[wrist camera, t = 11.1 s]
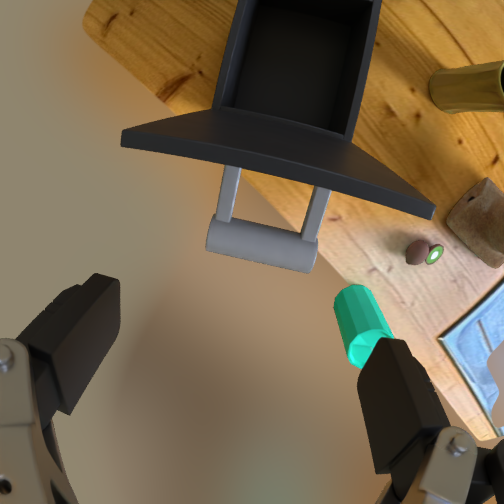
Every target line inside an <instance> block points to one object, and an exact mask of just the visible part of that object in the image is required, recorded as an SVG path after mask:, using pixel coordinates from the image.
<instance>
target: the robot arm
mask: <svg viewBox="0 0 504 504" xmlns="http://www.w3.org/2000/svg"><path fill="white" fill-rule="evenodd" d="M119 329H120V282H119V280H118V279H115V278H112V277H108V276H105V275H101V274H98V273H94V274H93V275H92V276H91V277H90V278H89V279H88V280H87V281H86V282H85V283H84V284H83V285H82V286H81V285H78V284H76V285H74V286H72V287H70V288H68V289H66V290H64V291H62V292H61V293H60V294H59V295H58V296H57V297H56V298H55V299H54V300H53V303H52V302H51V303H50V304H49V305H48V306H47V307H46V308H45V311H44V310H43V311H42V312H41V313H40V314H39V315H38V316H37V317H36V318H35V319H34V320H33V321H32V322H31V323H30V324H29V325H28V326H27V327H26V328H25V329H24V330H23V331H22V333H21V334H20V335H19V336H18V337H17V338H16V339H10V338H1V339H0V504H79V503H78V501H77V498H76V496H75V494H74V492H73V489H72V487H71V485H70V483H69V480H68V478H67V475H66V471H65V468H64V465H63V461H62V458H61V454H60V450H59V446H58V442H57V438H56V433H55V429H54V424H53V421H52V417H53V415H54V414H55V412H56V410H58V411H61V412H63V413H65V414H67V415H70V414H71V413H72V411H73V409H74V407H75V406H76V404H77V402H78V401H79V399H80V397H81V395H82V394H83V392H84V390H85V389H86V387H87V385H88V384H89V382H90V380H91V379H92V377H93V375H94V374H95V372H96V370H97V369H98V367H99V365H100V364H101V362H102V361H103V359H104V357H105V356H106V354H107V353H108V351H109V349H110V348H111V346H112V345H113V343H114V342H115V340H116V338H117V335H118V333H119ZM357 390H358V395H359V399H360V403H361V408H362V412H363V416H364V421H365V425H366V429H367V434H368V439H369V443H370V448H371V452H372V457H373V462H374V468H375V473H376V474H389V473H391V478H392V479H391V480H390V481H389V482H388V483H387V484H386V486H385V487H384V489H383V491H382V493H381V494H380V496H379V497H378V499H377V501H376V502H375V504H483V503H484V502H485V501H487V500H488V499H490V498H491V497H492V496H494V495H495V497H496V501H497V504H504V439H503V440H501V441H500V442H499V443H498V444H497V445H496V446H495V447H494V448H493V449H492V450H491V449H486V448H481V447H477V446H476V443H475V441H474V439H473V438H472V437H471V435H470V434H469V433H467V432H466V431H465V430H463V429H461V428H459V427H455V426H451V425H450V422H449V420H448V418H447V416H446V413H445V411H444V409H443V407H442V405H441V402H440V400H439V398H438V395H437V393H436V392H434V390H435V389H434V387H433V385H432V383H431V382H430V378H429V376H428V374H427V372H426V370H425V368H424V367H423V366H422V365H421V364H420V363H419V361H418V360H417V359H416V358H415V357H413V356H412V354H411V352H410V350H409V348H408V346H407V344H406V342H405V341H404V340H400V339H393V338H387V337H381V338H380V339H379V340H378V341H377V343H376V345H375V347H374V348H373V350H372V352H371V354H370V356H369V358H368V359H367V361H366V363H365V365H364V367H363V368H362V370H361V372H360V374H359V377H358V382H357Z"/></svg>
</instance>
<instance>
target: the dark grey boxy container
mask: <svg viewBox="0 0 504 504" xmlns="http://www.w3.org/2000/svg"><path fill="white" fill-rule="evenodd" d="M381 3H382V0H238V4H237V7H236V11H235V14H234V18H233V22H232V25H231V29H230V33H229V37H228V40H227V44H226V48H225V52H224V56H223V60H222V64H221V68H220V73H219V77H218V81H217V85H216V90H215V94H214V99H213V103H212V108H211V109H214V110H220V111H225V112H231V113H236V114H241V115H246V116H251V117H256V118H261V119H265V120H270V121H274V122H278V123H283V124H287V125H291V126H295V127H299V128H303V129H306V130H310V131H314V132H318V133H321V134H325V135H328V136H332V137H335V138H338V139H342V140H345V141H348V142H352V138H353V134H354V130H355V126H356V122H357V118H358V114H359V110H360V105H361V101H362V97H363V93H364V88H365V84H366V79H367V75H368V70H369V66H370V61H371V56H372V51H373V46H374V41H375V36H376V31H377V25H378V20H379V14H380V9H381Z"/></svg>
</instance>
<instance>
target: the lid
mask: <svg viewBox="0 0 504 504" xmlns="http://www.w3.org/2000/svg"><path fill="white" fill-rule="evenodd" d="M121 147H126V148H133V149H140V150H146V151H153V152H160V153H165V154H171V155H177V156H182V157H188V158H193V159H198V160H204V161H209V162H214V163H219V164H224V165H225V167H224V172H223V177H222V183H221V188H220V194H219V199H218V204H217V210H216V214H214V215H213V217H212V219H211V222H210V226H209V229H208V234H207V239H206V250H207V251H210V252H214V253H218V254H223V255H227V256H231V257H236V258H240V259H245V260H249V261H254V262H258V263H262V264H267V265H271V266H276V267H280V268H285V269H289V270H294V271H298V272H303V273H310V271H311V270H312V268H313V266H314V263H315V260H316V256H317V250H318V239H317V235H318V232H319V229H320V226H321V223H322V220H323V217H324V214H325V210H326V207H327V204H328V201H329V198H330V194H331V191H336V192H340V193H343V194H347V195H350V196H354V197H357V198H361V199H364V200H367V201H371V202H374V203H377V204H381V205H384V206H387V207H390V208H393V209H397V210H400V211H403V212H406V213H409V214H412V215H415V216H418V217H421V218H424V219H427V220H431V219H432V217H433V214H434V212H435V209H436V205H435V204H434V203H433V202H431V201H430V200H429V199H428V198H426V197H425V196H424V195H423V194H422V193H420V192H419V191H418V190H417V189H415V188H414V187H413V186H411V185H410V184H409V183H408V182H406V181H405V180H404V179H402V178H401V177H400V176H398V175H397V174H396V173H394V172H393V171H392V170H390V169H389V168H388V167H386V166H385V165H384V164H382V163H381V162H379V161H378V160H377V159H375V158H374V157H372V156H371V155H369V154H368V153H367V152H365V151H364V150H362V149H361V148H359V147H358V146H356V145H355V144H353V143H352V142H348V141H345V140H342V139H338V138H335V137H332V136H328V135H325V134H321V133H318V132H314V131H310V130H306V129H303V128H299V127H295V126H291V125H287V124H283V123H278V122H274V121H270V120H265V119H261V118H256V117H251V116H246V115H241V114H236V113H231V112H225V111H220V110H214V109H208V110H203V111H198V112H193V113H188V114H183V115H179V116H174V117H170V118H166V119H162V120H158V121H154V122H150V123H146V124H142V125H139V126H135V127H132V128H128V129H124V130H123V131H122V135H121ZM242 168H243V169H247V170H252V171H256V172H261V173H265V174H269V175H273V176H278V177H282V178H286V179H290V180H294V181H298V182H302V183H306V184H310V185H314V189H313V192H312V195H311V199H310V202H309V206H308V209H307V212H306V216H305V219H304V222H303V226H302V229H301V232H300V233H298V232H293V231H289V230H285V229H281V228H276V227H272V226H268V225H263V224H259V223H255V222H250V221H246V220H241V219H237V218H233V217H232V213H233V208H234V203H235V198H236V194H237V189H238V183H239V179H240V174H241V170H242Z"/></svg>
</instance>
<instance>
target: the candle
mask: <svg viewBox="0 0 504 504" xmlns="http://www.w3.org/2000/svg"><path fill="white" fill-rule="evenodd" d="M334 310H335V314H336V318H337V321H338V325H339V328H340V332H341V336H342V339H343V342H344V347H345V350H346V354H347V357H348V359H349V361H350V363H351V364H352V365H354V366H356V367H358V368H360V369H362V368H363V367H364V365H365V363H366V361H367V359H368V358H369V356H370V354H371V352H372V350H373V348H374V347H375V345H376V343H377V341H378V340H379V339H380V338H381V337H387V338H393V339H394V337H393V334H392V332H391V330H390V328H389V326H388V324H387V322H386V320H385V318H384V316H383V314H382V312H381V310H380V308H379V306H378V304H377V302H376V300H375V298H374V296H373V294H372V292H371V290H369V289H368V288H366V287H365V286H363V285H351V286H349V287H347V288H344V289H342V290H341V291H340V293H339V294H338V295H337V296H336V297H335V302H334Z"/></svg>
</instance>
